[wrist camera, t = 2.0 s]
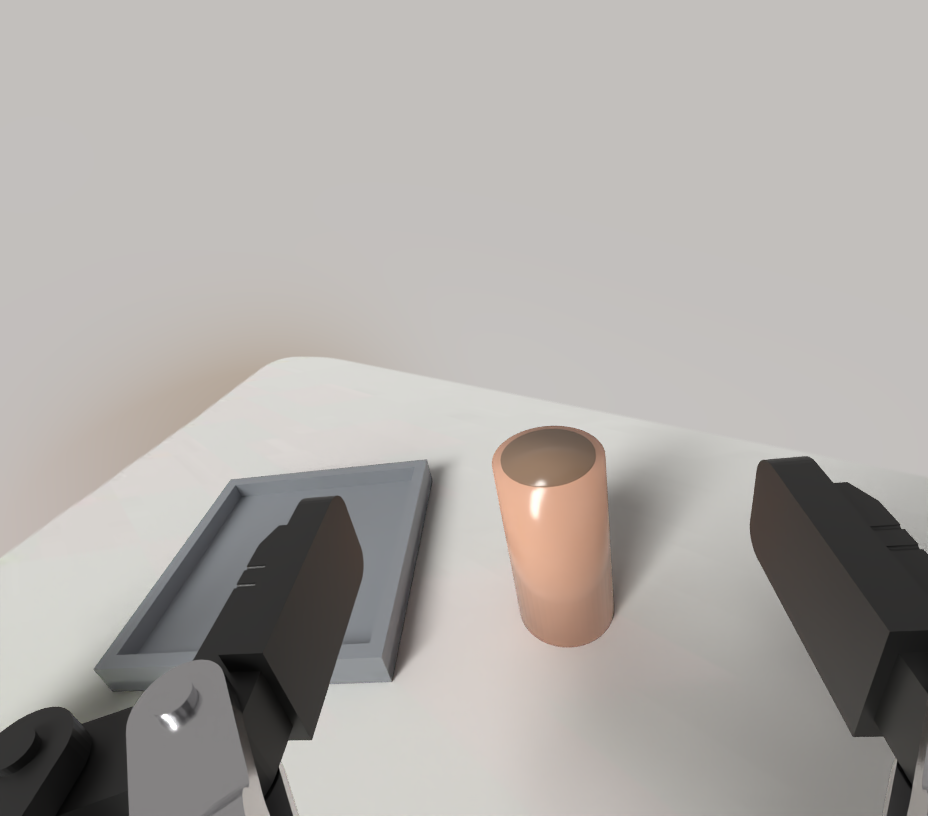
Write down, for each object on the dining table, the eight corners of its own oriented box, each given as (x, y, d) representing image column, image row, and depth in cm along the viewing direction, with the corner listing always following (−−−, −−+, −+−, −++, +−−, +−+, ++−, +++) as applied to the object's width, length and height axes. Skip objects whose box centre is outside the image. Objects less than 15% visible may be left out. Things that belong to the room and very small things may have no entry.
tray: (432, 480, 40) (426, 459, 39) (391, 681, 26) (381, 657, 25) (240, 498, 43) (230, 479, 42) (112, 691, 29) (93, 669, 28)
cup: (605, 566, 30) (596, 419, 25) (621, 645, 26) (614, 485, 21) (519, 572, 31) (493, 430, 26) (520, 649, 27) (489, 497, 22)
